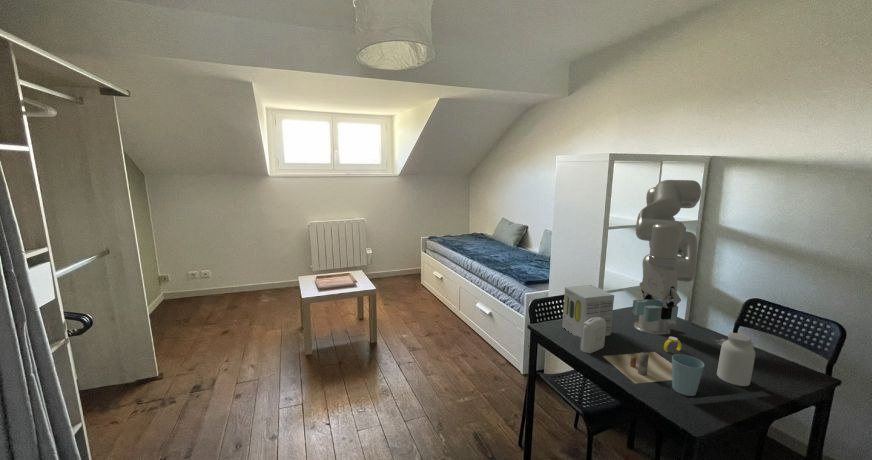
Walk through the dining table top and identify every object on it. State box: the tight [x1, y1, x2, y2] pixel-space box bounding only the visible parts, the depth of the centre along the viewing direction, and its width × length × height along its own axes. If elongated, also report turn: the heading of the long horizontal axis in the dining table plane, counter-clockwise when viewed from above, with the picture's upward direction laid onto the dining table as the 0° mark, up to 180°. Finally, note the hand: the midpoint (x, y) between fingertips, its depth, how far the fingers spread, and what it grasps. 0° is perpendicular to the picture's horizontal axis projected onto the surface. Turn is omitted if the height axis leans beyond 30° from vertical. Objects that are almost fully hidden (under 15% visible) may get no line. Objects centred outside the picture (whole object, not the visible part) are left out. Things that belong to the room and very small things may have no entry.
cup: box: [671, 353, 705, 400], centre depth 103 cm, size 8×8×10 cm
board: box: [602, 351, 672, 385], centre depth 116 cm, size 20×16×8 cm
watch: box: [663, 336, 682, 353], centre depth 126 cm, size 6×3×6 cm, turn 98°
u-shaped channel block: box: [631, 299, 679, 322], centre depth 117 cm, size 10×7×4 cm
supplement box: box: [562, 284, 615, 338], centre depth 141 cm, size 13×13×18 cm
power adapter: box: [711, 338, 755, 349], centre depth 127 cm, size 11×5×6 cm, turn 63°
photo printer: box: [579, 317, 606, 354], centre depth 127 cm, size 10×4×12 cm, turn 123°
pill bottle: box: [716, 332, 756, 387], centre depth 109 cm, size 8×8×15 cm
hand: (656, 313), depth 117 cm, fingers closed on u-shaped channel block, 7 cm apart
